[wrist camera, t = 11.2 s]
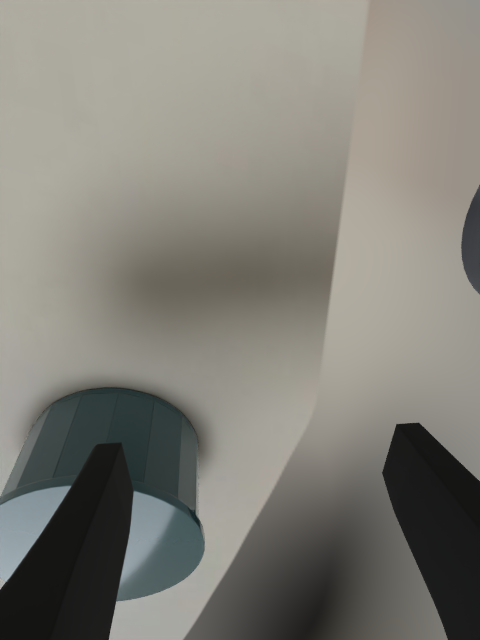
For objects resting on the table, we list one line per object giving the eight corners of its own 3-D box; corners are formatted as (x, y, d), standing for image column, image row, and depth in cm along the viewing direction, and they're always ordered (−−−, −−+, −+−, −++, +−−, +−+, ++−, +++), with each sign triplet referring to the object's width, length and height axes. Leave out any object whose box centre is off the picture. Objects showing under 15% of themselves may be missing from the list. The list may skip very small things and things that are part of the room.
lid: (198, 454, 18) (196, 576, 14) (209, 573, 24) (210, 683, 20) (-52, 471, 18) (-132, 604, 13) (22, 589, 24) (-17, 706, 19)
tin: (192, 382, 23) (189, 472, 18) (202, 490, 28) (202, 581, 24) (9, 393, 22) (-45, 489, 17) (56, 500, 28) (24, 597, 23)
